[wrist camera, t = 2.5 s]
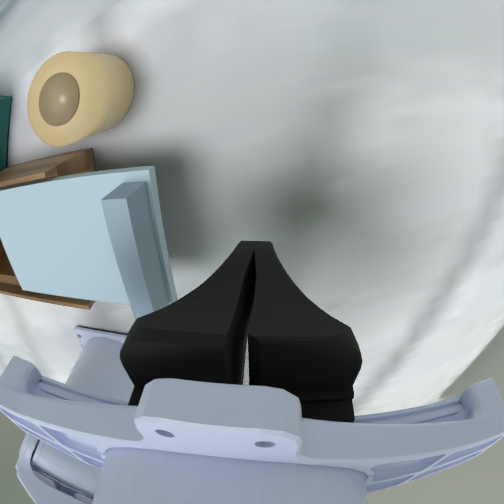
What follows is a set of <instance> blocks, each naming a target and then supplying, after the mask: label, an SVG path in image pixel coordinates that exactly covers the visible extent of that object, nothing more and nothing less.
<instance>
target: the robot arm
mask: <svg viewBox="0 0 504 504" xmlns="http://www.w3.org/2000/svg"><path fill="white" fill-rule="evenodd" d="M74 332H75V334H76V336H77V338H78V339H79V341H80V343H81V345H82V346H83V348H84V349H83V351H82V353H81V355H80V356H79V358H78V360H77V362H76V364H75V366H74V368H73V370H72V372H71V374H70V376H69V378H68V380H67V382H66V384H64V383H61V382H58V381H55V380H52V379H49V378H47V377H44V376H42V375H41V373H40V372H39V370H38V369H37V368H36V367H35V366H34V365H33V364H32V363H31V362H29V361H26V360H24V359H21V358H19V357H16V356H13V357H12V359H11V361H10V362H9V364H8V366H7V367H6V369H5V371H4V372H3V374H2V376H1V377H0V410H1V411H2V412H3V413H4V414H5V415H6V416H7V417H8V418H9V419H10V420H11V421H13V422H14V423H15V424H16V425H17V426H18V427H20V428H21V429H22V430H23V431H25V432H27V433H26V435H25V438H24V441H23V443H22V446H21V449H20V451H19V454H20V456H19V458H18V461H17V464H16V470H17V476H18V478H19V480H20V482H21V483H22V485H23V486H24V488H25V489H26V491H27V492H28V494H29V495H30V497H31V498H32V499H33V501H34V502H35V504H367V493H370V492H375V491H379V490H383V489H387V488H391V487H395V486H398V485H401V484H405V483H408V482H411V481H414V480H417V479H420V478H423V477H426V476H429V475H432V474H434V473H437V472H440V471H442V470H445V469H448V468H451V467H453V466H455V465H458V464H460V463H463V462H465V461H468V460H470V459H472V458H474V457H476V456H478V455H479V454H480V453H482V452H483V451H485V450H486V449H488V448H489V447H490V446H492V445H493V444H494V443H496V442H497V441H498V440H499V439H501V438H502V437H504V403H503V401H502V398H501V396H500V393H499V391H498V389H497V386H496V384H495V382H494V380H493V378H490V379H487V380H484V381H480V382H477V383H474V384H472V385H470V386H469V387H467V388H466V389H465V390H464V391H463V393H462V394H461V396H460V397H458V398H454V399H450V400H446V401H442V402H438V403H434V404H429V405H424V406H419V407H414V408H409V409H403V410H397V411H391V412H384V413H377V414H369V415H360V416H354V410H353V404H352V399H353V398H354V391H353V384H354V382H355V380H356V378H357V375H358V373H359V371H360V369H361V365H362V358H361V352H360V349H359V346H358V343H357V341H356V338H355V336H354V334H353V332H352V330H351V328H350V327H349V326H347V325H345V324H344V323H342V322H340V321H338V320H337V319H335V318H333V317H331V316H330V315H329V314H327V313H326V312H324V311H323V310H321V309H320V308H319V307H318V306H316V305H315V304H314V303H313V302H312V301H311V300H309V299H308V298H307V297H306V296H305V295H304V294H303V293H302V292H301V290H300V289H299V288H298V287H297V286H296V285H295V283H294V282H293V281H292V280H291V278H290V277H289V275H288V274H287V272H286V271H285V269H284V268H283V266H282V264H281V263H280V261H279V259H278V257H277V255H276V253H275V250H274V248H273V244H272V243H271V242H269V241H241V242H240V243H239V244H238V245H237V247H236V248H235V249H234V251H233V252H232V253H231V254H230V256H229V257H228V258H227V259H226V260H225V262H224V263H223V264H222V265H221V266H220V267H219V268H218V269H217V270H216V271H215V272H214V273H213V274H212V275H211V276H210V277H209V278H208V279H207V280H206V281H205V282H204V283H202V284H201V285H200V286H199V287H197V288H196V289H194V290H193V291H191V292H190V293H188V294H187V295H185V296H184V297H182V298H181V299H179V300H177V301H175V302H173V303H172V304H170V305H168V306H166V307H164V308H161V309H159V310H157V311H154V312H152V313H149V314H147V315H144V316H142V317H139V318H137V319H136V321H135V322H134V324H133V326H132V327H131V329H130V331H129V333H128V335H123V334H116V333H110V332H104V331H98V330H92V329H87V328H82V327H75V328H74ZM247 337H248V353H249V385H243V377H244V364H245V352H246V343H247ZM40 471H41V472H43V473H45V474H46V475H48V476H50V477H52V478H54V479H55V480H58V481H59V482H61V483H63V484H65V485H67V486H69V487H71V488H73V489H75V490H77V491H75V490H73V489H71V488H69V487H67V486H65V485H63V484H61V483H59V482H57V481H55V480H53V479H52V478H50V477H48V476H46V475H44V474H43V473H41V472H40ZM78 491H80V492H82V493H84V494H86V495H84V494H82V493H80V492H78ZM87 495H89V496H87Z"/></svg>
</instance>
